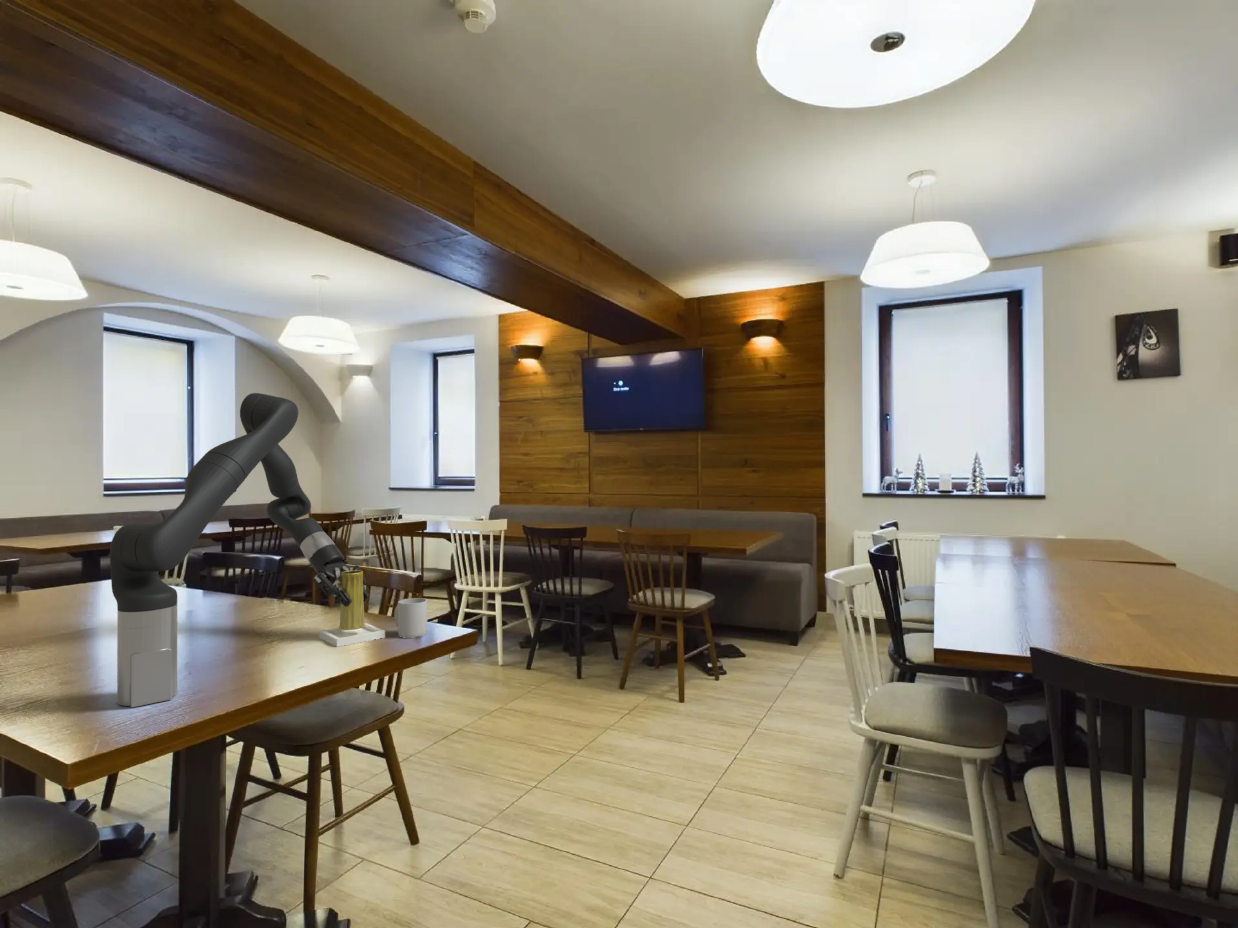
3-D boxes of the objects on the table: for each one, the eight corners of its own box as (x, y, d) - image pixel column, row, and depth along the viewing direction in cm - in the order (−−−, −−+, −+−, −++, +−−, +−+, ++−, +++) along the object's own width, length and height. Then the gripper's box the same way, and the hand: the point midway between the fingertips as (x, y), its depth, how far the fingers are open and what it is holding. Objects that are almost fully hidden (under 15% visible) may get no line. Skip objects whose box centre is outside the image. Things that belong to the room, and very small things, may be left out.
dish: (385, 637, 166) (385, 630, 166) (337, 646, 157) (337, 639, 157) (366, 629, 174) (366, 622, 174) (319, 637, 166) (319, 630, 166)
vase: (343, 631, 162) (343, 574, 162) (336, 626, 166) (336, 571, 167) (368, 627, 166) (368, 572, 166) (360, 623, 170) (360, 569, 170)
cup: (412, 640, 164) (411, 604, 164) (384, 635, 168) (384, 600, 168) (433, 633, 170) (433, 599, 170) (406, 629, 175) (406, 596, 175)
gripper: (335, 558, 177) (369, 605, 173) (291, 566, 164) (327, 617, 160) (350, 540, 176) (385, 587, 171) (307, 546, 162) (344, 597, 158)
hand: (357, 601), depth 165 cm, fingers closed on vase, 5 cm apart
